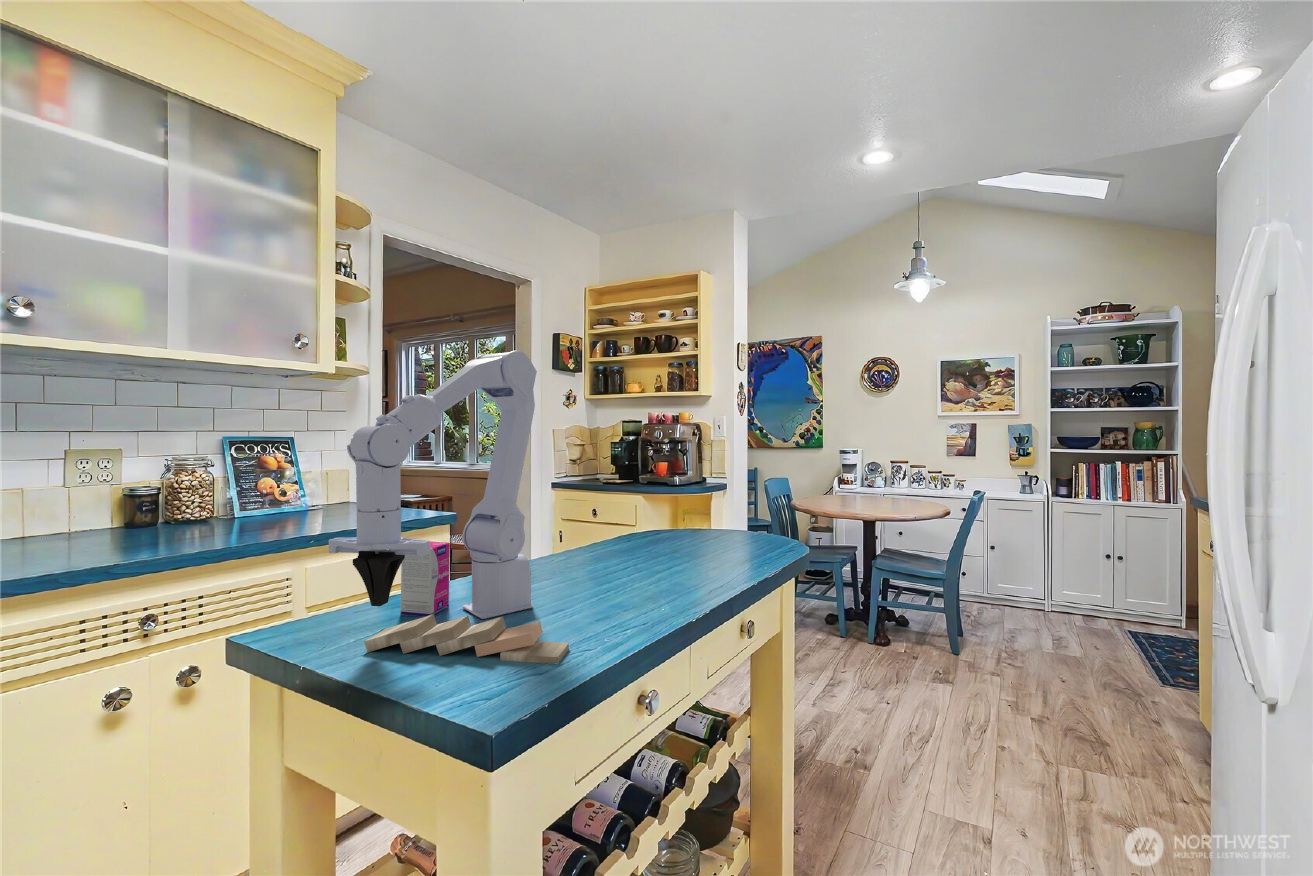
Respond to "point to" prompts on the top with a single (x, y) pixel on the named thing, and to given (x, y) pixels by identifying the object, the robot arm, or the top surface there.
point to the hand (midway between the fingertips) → (379, 604)
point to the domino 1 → (400, 633)
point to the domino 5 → (537, 652)
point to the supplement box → (426, 581)
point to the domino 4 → (511, 639)
